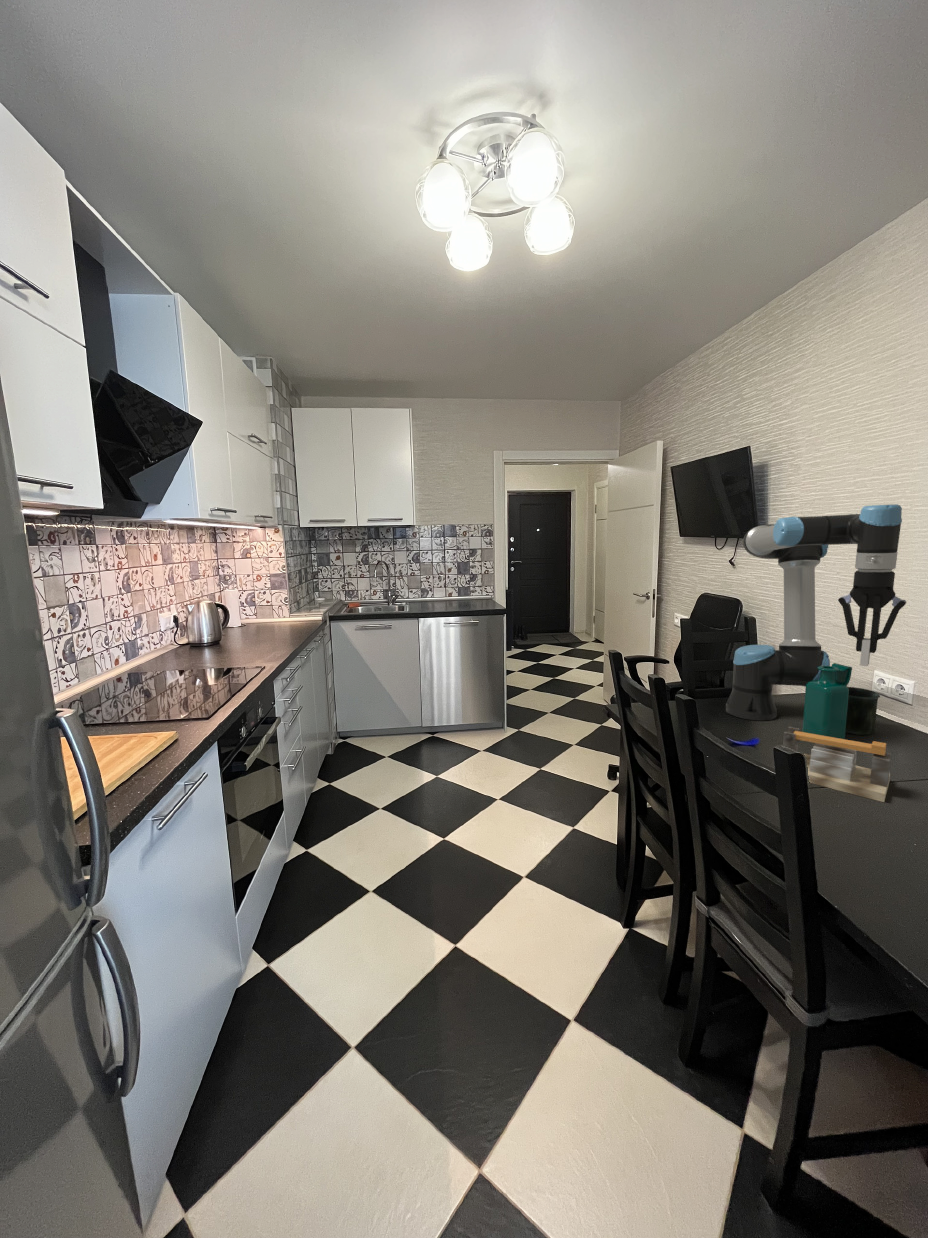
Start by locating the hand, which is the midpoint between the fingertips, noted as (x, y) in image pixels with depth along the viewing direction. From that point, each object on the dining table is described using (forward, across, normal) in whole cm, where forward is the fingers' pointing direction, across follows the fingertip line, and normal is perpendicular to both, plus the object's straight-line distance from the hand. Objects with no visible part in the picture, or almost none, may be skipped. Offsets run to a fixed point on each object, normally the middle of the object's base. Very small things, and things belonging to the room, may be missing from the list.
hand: (864, 664), depth 121 cm
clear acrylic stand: (+28, -3, -10) cm, 29 cm away
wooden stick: (+19, -3, -10) cm, 21 cm away
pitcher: (+29, -9, +18) cm, 35 cm away
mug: (+29, -5, +32) cm, 44 cm away
